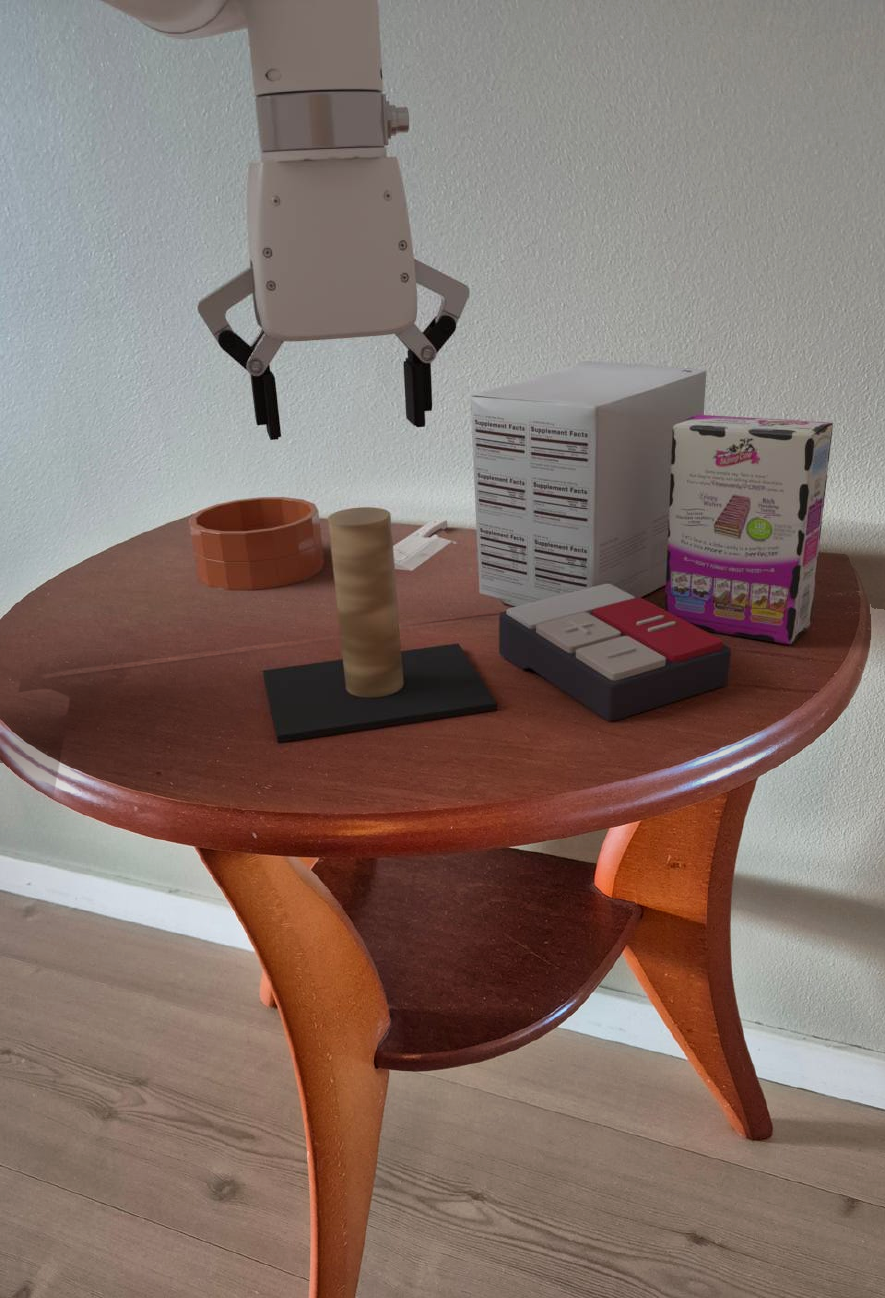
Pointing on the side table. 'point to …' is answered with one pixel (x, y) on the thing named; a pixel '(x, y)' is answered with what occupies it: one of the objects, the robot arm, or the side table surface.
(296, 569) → the crock
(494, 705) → the mat
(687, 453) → the candy bar box
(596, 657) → the calculator
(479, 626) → the side table surface
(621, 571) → the supplement box
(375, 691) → the pestle
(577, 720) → the side table surface
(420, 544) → the butcher knife
